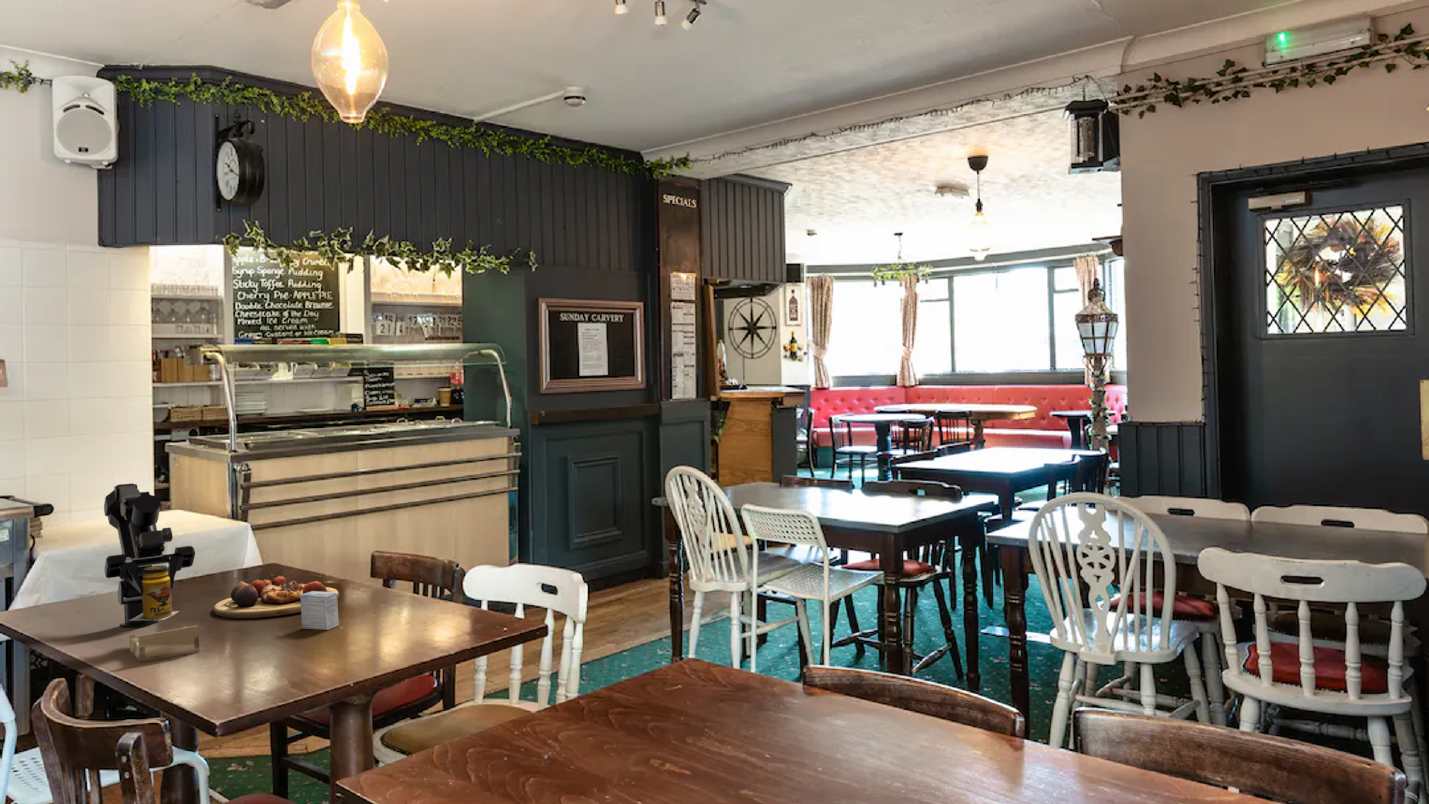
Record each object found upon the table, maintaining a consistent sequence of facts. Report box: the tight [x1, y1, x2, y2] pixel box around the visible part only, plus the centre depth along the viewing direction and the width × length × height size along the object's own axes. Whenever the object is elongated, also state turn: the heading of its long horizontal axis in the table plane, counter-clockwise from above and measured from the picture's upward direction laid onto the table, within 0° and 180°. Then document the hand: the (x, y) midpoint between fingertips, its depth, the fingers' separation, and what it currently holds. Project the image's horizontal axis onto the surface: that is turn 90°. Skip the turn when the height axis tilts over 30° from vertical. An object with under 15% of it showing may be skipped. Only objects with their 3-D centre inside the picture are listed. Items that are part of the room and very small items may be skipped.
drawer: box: [128, 625, 201, 664], centre depth 228 cm, size 13×12×6 cm
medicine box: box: [300, 591, 339, 631], centre depth 246 cm, size 8×4×9 cm, turn 71°
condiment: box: [129, 564, 180, 621], centre depth 235 cm, size 7×8×12 cm
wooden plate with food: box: [213, 574, 340, 619], centre depth 272 cm, size 32×32×8 cm
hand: (156, 589), depth 234 cm, fingers closed on condiment, 6 cm apart
